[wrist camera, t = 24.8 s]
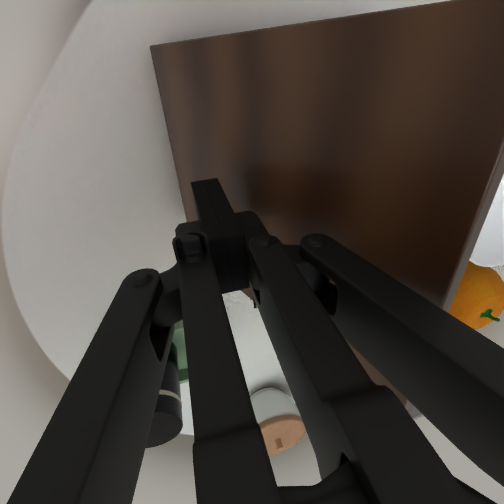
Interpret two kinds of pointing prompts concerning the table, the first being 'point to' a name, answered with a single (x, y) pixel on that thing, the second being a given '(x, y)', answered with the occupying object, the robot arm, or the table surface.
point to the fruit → (478, 297)
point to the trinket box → (277, 419)
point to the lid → (351, 133)
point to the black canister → (167, 405)
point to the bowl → (491, 234)
